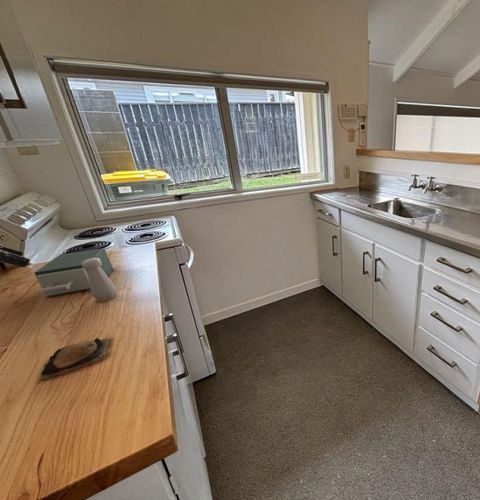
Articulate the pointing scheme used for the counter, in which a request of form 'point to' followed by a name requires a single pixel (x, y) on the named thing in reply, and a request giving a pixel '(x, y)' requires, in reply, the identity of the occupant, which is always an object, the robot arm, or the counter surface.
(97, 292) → the salt shaker
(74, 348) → the brown and black piece
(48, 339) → the counter surface
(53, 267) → the cabinet
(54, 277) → the drawer
